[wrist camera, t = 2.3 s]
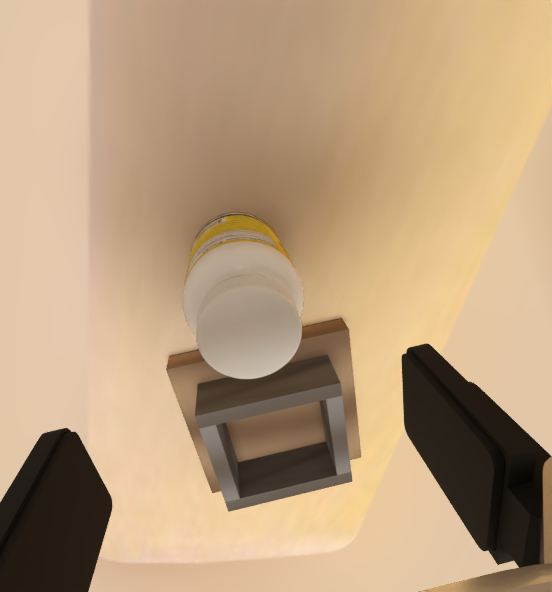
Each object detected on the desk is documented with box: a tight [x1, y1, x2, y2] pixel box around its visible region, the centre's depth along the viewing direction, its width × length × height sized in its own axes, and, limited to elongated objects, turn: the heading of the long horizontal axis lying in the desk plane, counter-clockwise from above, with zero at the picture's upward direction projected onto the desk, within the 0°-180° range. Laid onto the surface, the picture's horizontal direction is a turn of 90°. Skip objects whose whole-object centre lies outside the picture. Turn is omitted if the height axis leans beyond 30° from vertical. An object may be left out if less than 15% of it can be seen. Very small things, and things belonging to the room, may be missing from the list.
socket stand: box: [166, 319, 361, 511], centre depth 26 cm, size 12×12×4 cm
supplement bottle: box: [183, 213, 304, 379], centre depth 18 cm, size 5×5×10 cm
